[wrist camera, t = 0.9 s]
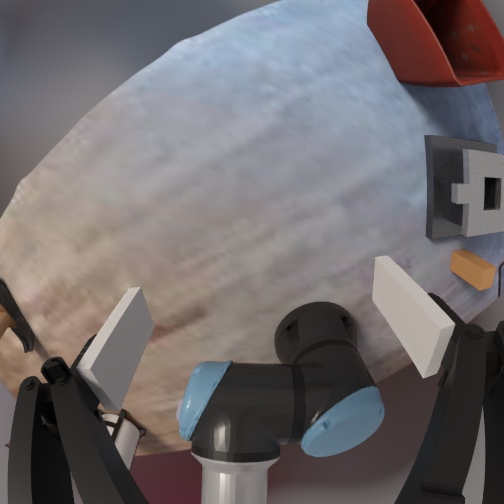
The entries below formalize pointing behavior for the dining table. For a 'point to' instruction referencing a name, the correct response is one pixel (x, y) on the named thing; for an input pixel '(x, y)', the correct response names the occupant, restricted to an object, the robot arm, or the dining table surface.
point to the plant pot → (438, 41)
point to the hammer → (14, 320)
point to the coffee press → (123, 435)
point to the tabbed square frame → (463, 187)
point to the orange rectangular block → (472, 269)
